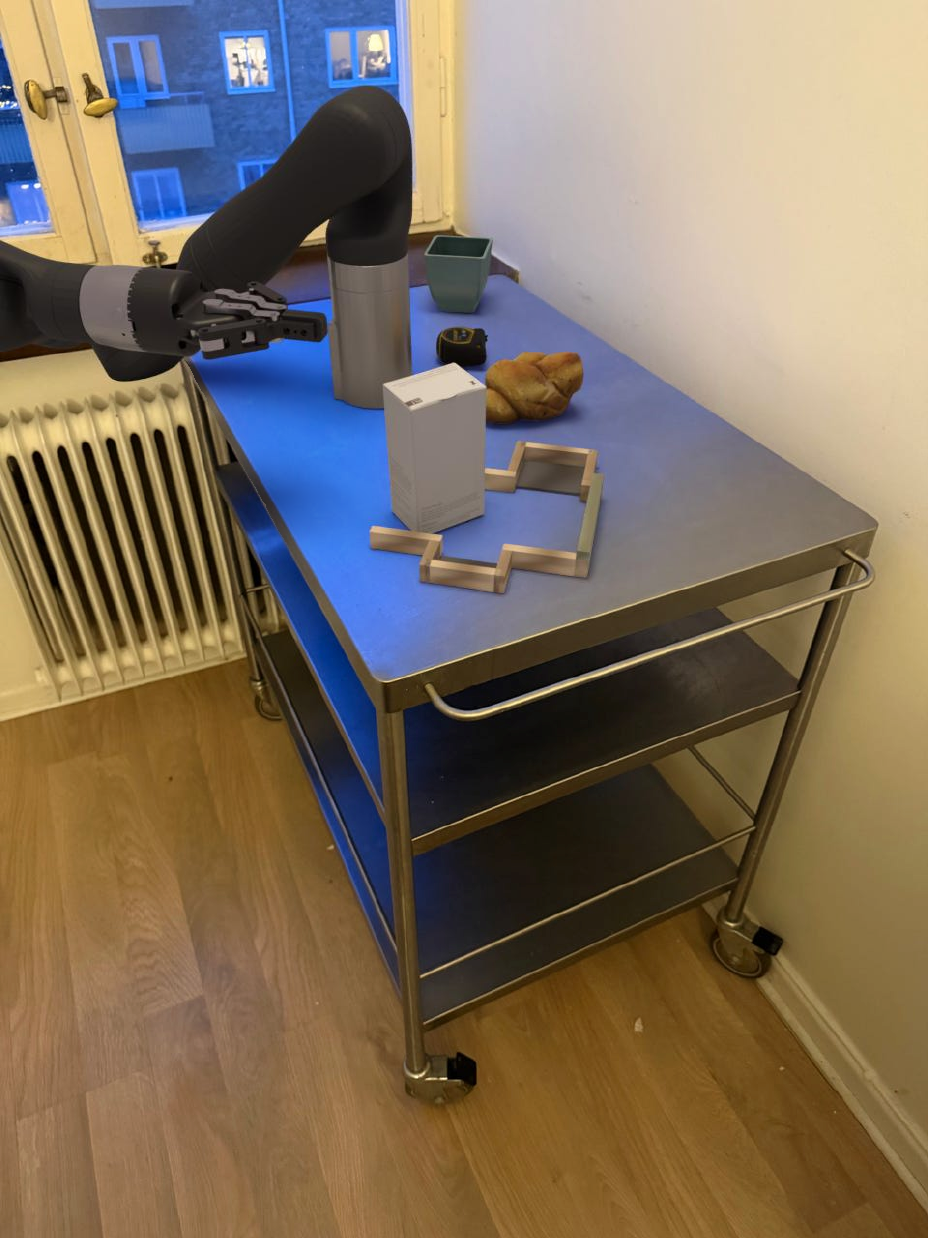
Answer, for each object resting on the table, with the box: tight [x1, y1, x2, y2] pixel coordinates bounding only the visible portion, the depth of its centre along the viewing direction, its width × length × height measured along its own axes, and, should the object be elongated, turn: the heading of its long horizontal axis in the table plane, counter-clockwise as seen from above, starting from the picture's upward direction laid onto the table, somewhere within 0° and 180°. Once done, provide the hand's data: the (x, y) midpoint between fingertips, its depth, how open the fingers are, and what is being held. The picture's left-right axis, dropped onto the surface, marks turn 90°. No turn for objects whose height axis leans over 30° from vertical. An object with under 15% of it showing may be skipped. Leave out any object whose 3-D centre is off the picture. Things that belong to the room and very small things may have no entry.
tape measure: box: [435, 326, 489, 368], centre depth 117 cm, size 7×7×4 cm
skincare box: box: [383, 363, 487, 534], centre depth 86 cm, size 8×6×15 cm
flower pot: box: [423, 234, 494, 314], centre depth 130 cm, size 9×9×9 cm
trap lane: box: [369, 440, 605, 594], centre depth 90 cm, size 21×24×3 cm
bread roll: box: [484, 351, 585, 425], centre depth 105 cm, size 13×10×8 cm
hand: (324, 327), depth 79 cm, fingers closed
